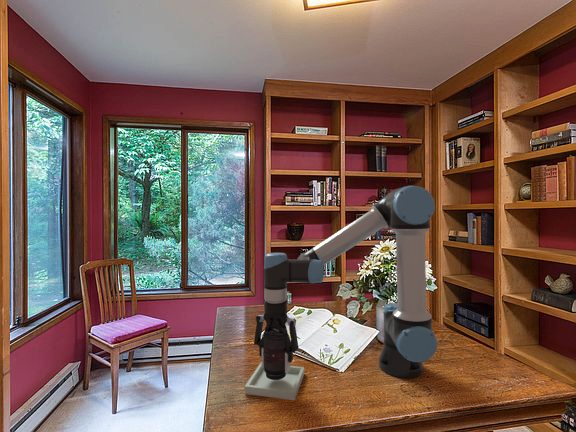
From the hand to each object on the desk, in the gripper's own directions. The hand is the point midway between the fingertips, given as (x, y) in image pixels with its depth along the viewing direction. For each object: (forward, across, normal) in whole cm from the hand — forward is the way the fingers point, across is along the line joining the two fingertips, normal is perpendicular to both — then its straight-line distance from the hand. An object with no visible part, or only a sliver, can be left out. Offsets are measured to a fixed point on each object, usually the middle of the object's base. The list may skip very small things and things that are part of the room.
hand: (275, 368), depth 108 cm
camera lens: (+2, 0, 0) cm, 2 cm away
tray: (+5, 0, 0) cm, 5 cm away
